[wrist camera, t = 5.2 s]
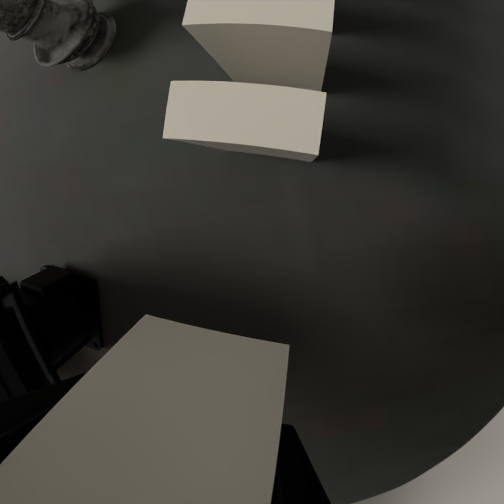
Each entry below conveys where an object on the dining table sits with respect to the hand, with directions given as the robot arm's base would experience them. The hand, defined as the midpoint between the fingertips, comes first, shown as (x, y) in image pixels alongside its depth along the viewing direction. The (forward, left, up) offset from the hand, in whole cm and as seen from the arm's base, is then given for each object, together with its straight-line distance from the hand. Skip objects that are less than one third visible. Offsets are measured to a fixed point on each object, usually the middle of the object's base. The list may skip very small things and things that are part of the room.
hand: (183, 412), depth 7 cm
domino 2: (+12, 0, -13) cm, 18 cm away
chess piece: (+15, +15, -13) cm, 25 cm away
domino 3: (+8, 0, -13) cm, 15 cm away
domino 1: (0, 0, -3) cm, 3 cm away
